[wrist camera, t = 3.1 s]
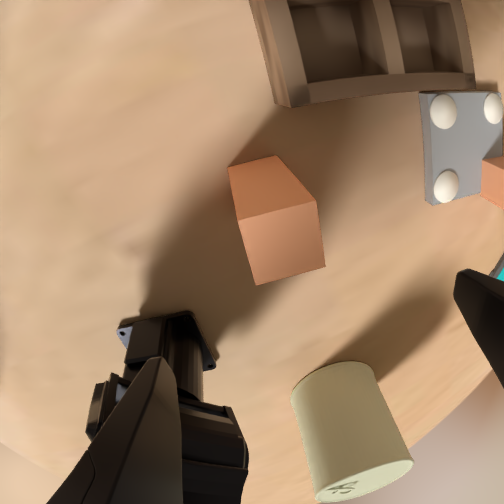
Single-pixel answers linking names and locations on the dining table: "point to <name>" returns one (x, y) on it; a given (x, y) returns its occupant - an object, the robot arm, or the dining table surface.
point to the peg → (276, 220)
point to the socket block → (362, 48)
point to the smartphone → (498, 270)
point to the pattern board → (463, 145)
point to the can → (348, 432)
